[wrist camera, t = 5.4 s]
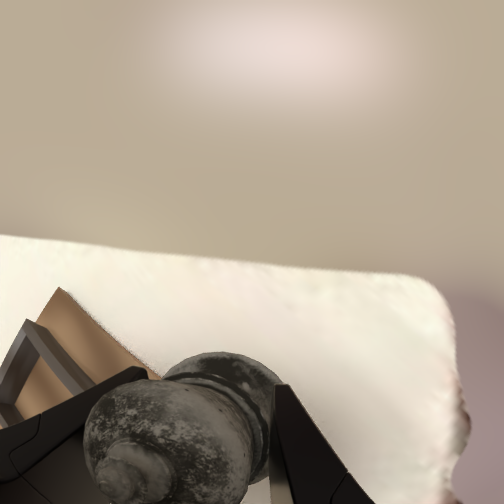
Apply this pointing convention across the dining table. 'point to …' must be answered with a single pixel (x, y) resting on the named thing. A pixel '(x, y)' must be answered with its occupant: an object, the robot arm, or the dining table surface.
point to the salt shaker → (183, 433)
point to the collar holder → (57, 360)
